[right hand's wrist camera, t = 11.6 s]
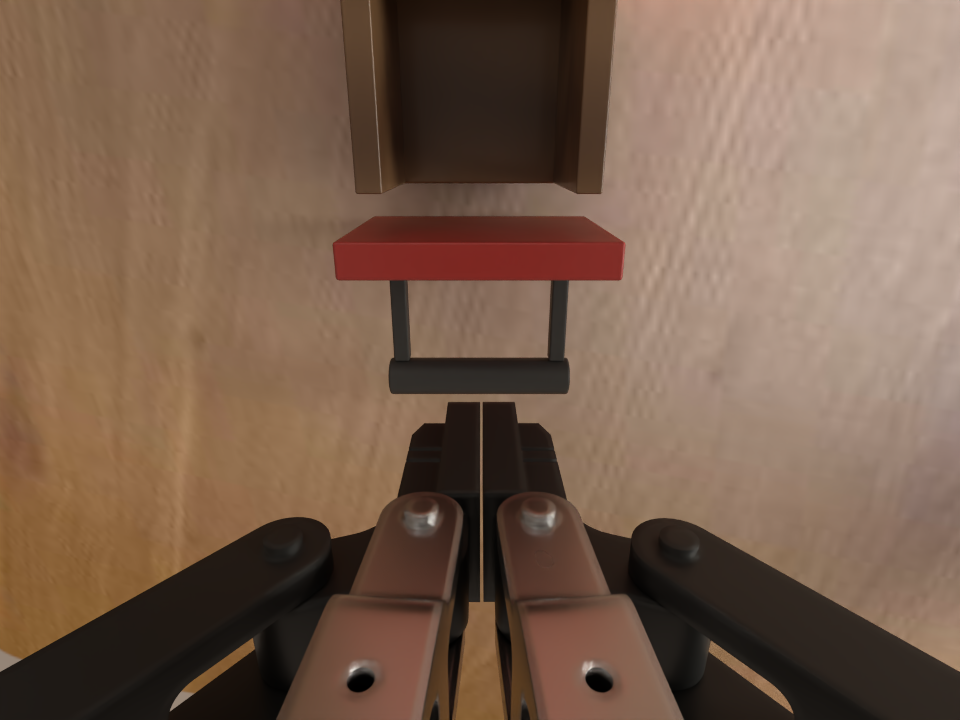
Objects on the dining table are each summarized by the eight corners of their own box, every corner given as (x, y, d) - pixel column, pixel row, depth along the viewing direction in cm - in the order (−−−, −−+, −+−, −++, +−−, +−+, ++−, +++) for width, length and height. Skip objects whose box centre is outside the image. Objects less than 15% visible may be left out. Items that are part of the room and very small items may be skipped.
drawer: (575, 362, 25) (608, 434, 19) (383, 362, 25) (350, 434, 19) (622, -321, 17) (708, -605, 11) (335, -322, 17) (249, -607, 11)
